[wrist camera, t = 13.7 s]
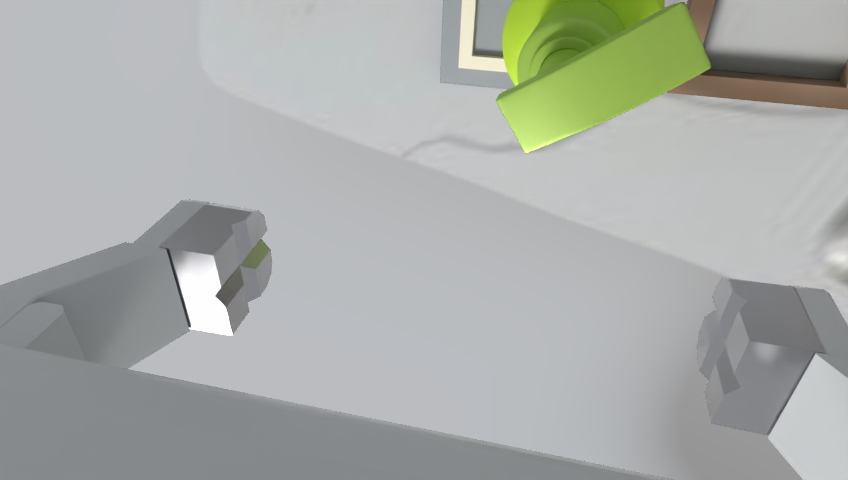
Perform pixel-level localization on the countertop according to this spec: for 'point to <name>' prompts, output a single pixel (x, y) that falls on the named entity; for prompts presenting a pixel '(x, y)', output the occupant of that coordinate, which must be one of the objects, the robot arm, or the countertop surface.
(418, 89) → the countertop surface
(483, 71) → the slate board
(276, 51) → the countertop surface
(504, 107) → the soap dispenser
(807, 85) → the walnut template frame
